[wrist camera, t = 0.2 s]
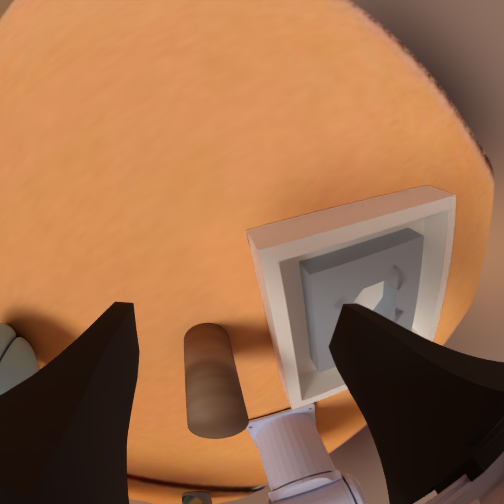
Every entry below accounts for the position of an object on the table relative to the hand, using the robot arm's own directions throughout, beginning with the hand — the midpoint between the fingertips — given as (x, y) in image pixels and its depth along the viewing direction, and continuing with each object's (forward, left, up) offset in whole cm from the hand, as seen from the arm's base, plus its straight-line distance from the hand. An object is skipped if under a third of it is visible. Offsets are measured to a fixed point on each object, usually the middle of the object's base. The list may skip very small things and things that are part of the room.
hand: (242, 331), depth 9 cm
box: (-8, -10, -10) cm, 16 cm away
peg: (-8, +3, -10) cm, 13 cm away
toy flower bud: (-5, +23, -10) cm, 26 cm away
